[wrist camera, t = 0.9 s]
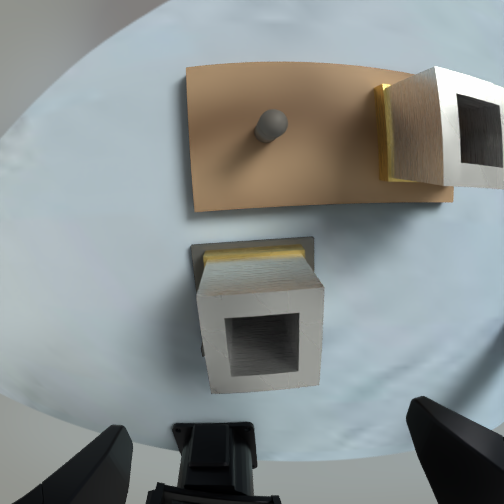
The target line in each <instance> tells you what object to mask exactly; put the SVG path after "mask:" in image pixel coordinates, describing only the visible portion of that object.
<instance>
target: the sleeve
mask: <svg viewBox="0 0 504 504" xmlns="http://www.w3.org/2000/svg"><path fill="white" fill-rule="evenodd" d="M203 260H204V272H203V275H202V279H201V282H200V285H199V289H198V292H197V295H196V300H197V307H198V314H199V321H200V328H201V335H202V341H203V347H204V354H205V360H206V366H207V372H208V377H209V383H210V389H211V394H224V393H244V392H259V391H271V390H281V389H291V388H300V387H308V386H316V385H319V380H320V367H321V352H322V334H323V312H324V286H323V285H322V283H321V282H320V280H319V279H318V277H317V276H316V274H315V273H314V271H313V270H312V269H311V267H310V266H309V264H308V263H307V261H306V260H305V249H304V248H303V247H302V245H301V244H295V245H280V246H265V247H250V248H235V249H221V250H206V251H205V253H204V256H203Z"/></svg>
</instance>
